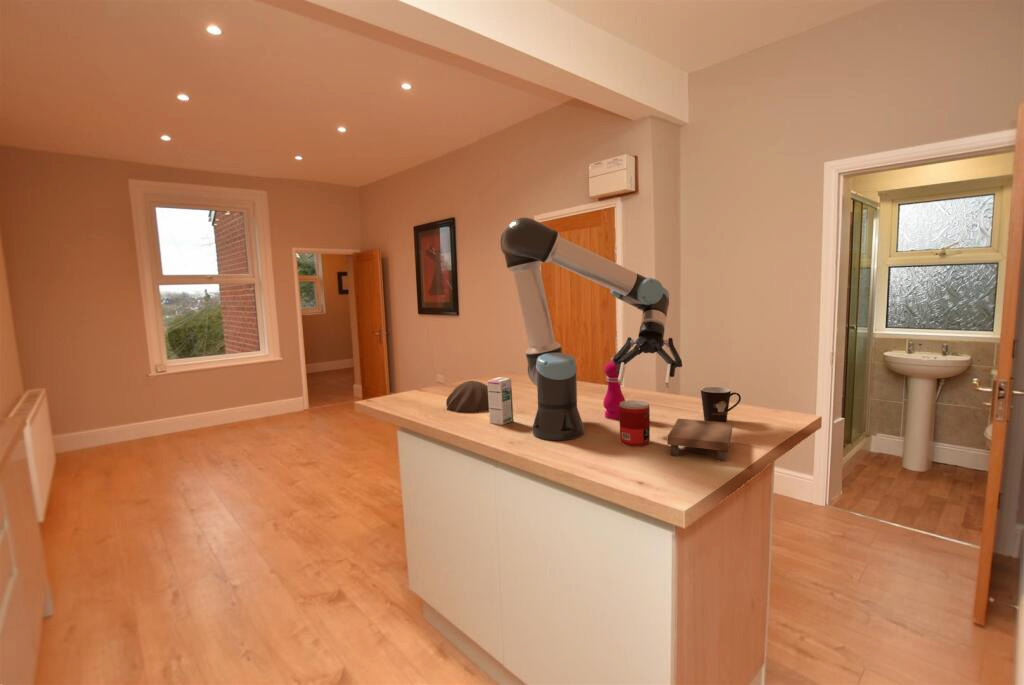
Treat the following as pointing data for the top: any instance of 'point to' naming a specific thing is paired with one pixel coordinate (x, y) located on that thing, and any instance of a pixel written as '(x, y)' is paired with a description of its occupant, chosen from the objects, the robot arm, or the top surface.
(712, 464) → the top surface
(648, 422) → the canned food
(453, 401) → the decorative dome
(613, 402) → the pepper mill
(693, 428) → the walnut shelf
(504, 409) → the syrup box
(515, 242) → the robot arm
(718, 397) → the coffee mug
